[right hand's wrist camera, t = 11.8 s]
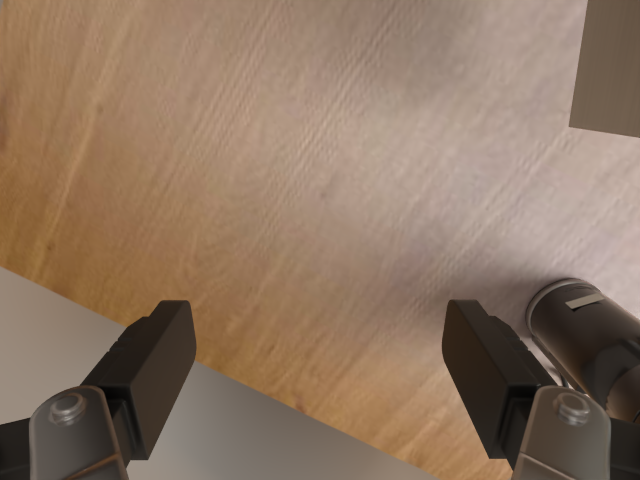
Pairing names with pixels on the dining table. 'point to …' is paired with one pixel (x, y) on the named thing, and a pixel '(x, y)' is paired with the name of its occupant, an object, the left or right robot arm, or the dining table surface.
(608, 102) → the box
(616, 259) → the dining table surface
